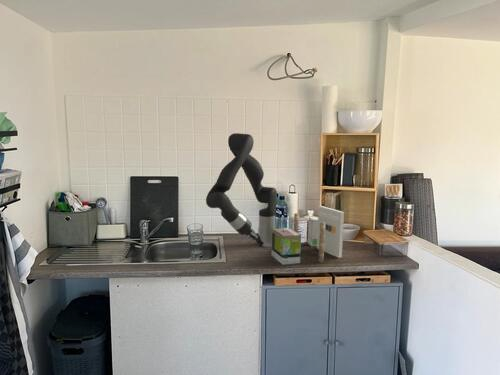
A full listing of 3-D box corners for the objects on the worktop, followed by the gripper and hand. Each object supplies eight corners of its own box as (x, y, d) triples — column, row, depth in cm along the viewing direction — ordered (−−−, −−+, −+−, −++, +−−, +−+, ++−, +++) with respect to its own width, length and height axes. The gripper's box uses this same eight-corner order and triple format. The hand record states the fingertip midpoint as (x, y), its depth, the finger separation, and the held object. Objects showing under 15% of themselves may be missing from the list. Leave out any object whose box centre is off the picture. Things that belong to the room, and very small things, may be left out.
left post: (292, 249, 206) (293, 213, 203) (296, 248, 207) (297, 213, 204) (294, 250, 204) (296, 214, 201) (298, 249, 205) (299, 214, 202)
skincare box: (311, 246, 211) (312, 219, 209) (306, 243, 217) (307, 217, 215) (324, 245, 213) (326, 219, 211) (320, 242, 219) (321, 216, 217)
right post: (317, 261, 187) (319, 222, 184) (321, 260, 188) (323, 222, 185) (320, 262, 185) (322, 223, 182) (324, 262, 186) (326, 223, 183)
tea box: (300, 263, 184) (301, 234, 182) (282, 265, 181) (282, 235, 178) (288, 253, 198) (289, 226, 196) (270, 255, 195) (271, 228, 193)
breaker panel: (315, 248, 207) (316, 206, 204) (319, 247, 209) (321, 205, 205) (337, 258, 192) (339, 212, 188) (341, 257, 193) (344, 212, 190)
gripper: (251, 219, 169) (273, 242, 176) (238, 213, 180) (260, 235, 188) (240, 232, 167) (263, 254, 175) (228, 225, 179) (250, 246, 186)
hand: (261, 244), depth 181 cm, fingers closed
